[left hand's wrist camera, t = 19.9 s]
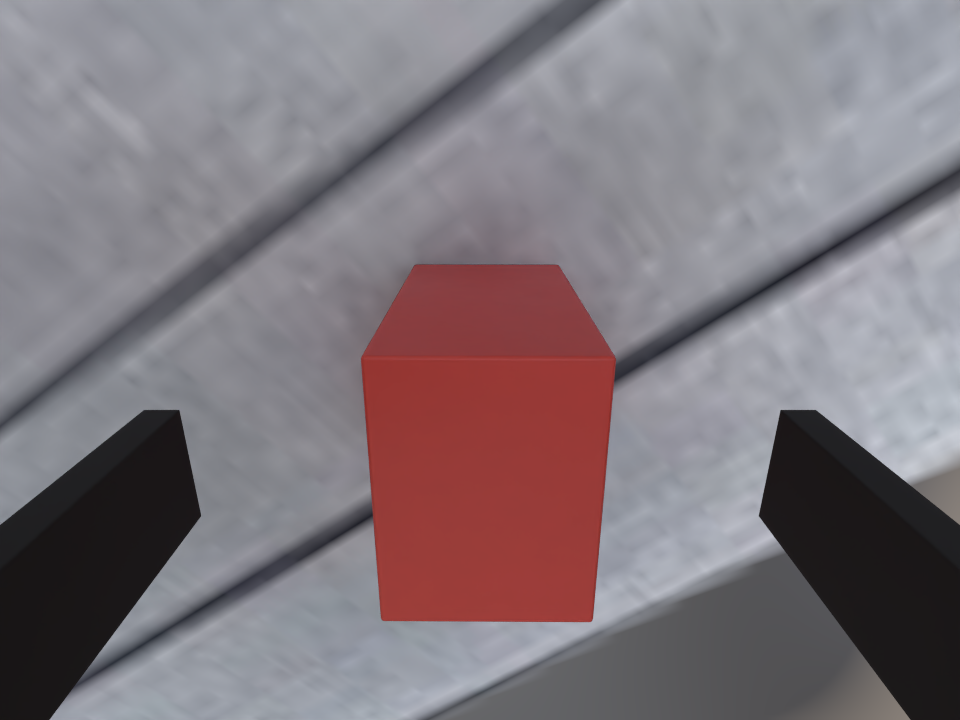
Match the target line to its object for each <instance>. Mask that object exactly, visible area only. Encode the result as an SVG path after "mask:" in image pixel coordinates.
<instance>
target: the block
mask: <svg viewBox="0 0 960 720" xmlns="http://www.w3.org/2000/svg"><path fill="white" fill-rule="evenodd" d="M615 365H616V358H615V356H614V354H613V353H612V351H611V349H610V348H609V346H608V345H607V343H606V341H605V340H604V338H603V336H602V335H601V333H600V332H599V330H598V328H597V327H596V325H595V324H594V322H593V320H592V319H591V317H590V315H589V314H588V312H587V311H586V309H585V307H584V306H583V304H582V302H581V301H580V299H579V298H578V296H577V294H576V293H575V291H574V290H573V288H572V286H571V285H570V283H569V281H568V280H567V278H566V277H565V275H564V273H563V272H562V270H561V268H560V267H559V266H558V265H414V267H413V269H412V271H411V272H410V274H409V276H408V278H407V279H406V281H405V283H404V284H403V286H402V288H401V290H400V291H399V293H398V295H397V296H396V298H395V300H394V302H393V303H392V305H391V307H390V309H389V310H388V312H387V314H386V315H385V317H384V319H383V321H382V322H381V324H380V326H379V328H378V329H377V331H376V333H375V334H374V336H373V338H372V340H371V341H370V343H369V345H368V346H367V348H366V350H365V352H364V353H363V355H362V357H361V366H362V379H363V392H364V405H365V418H366V431H367V443H368V456H369V469H370V482H371V495H372V508H373V521H374V534H375V547H376V560H377V573H378V586H379V599H380V612H381V619H382V620H383V621H491V622H591V621H592V619H593V611H594V600H595V589H596V578H597V567H598V555H599V544H600V533H601V522H602V511H603V499H604V488H605V477H606V466H607V455H608V443H609V432H610V421H611V410H612V399H613V387H614V376H615Z"/></svg>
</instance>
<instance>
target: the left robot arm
mask: <svg viewBox="0 0 960 720" xmlns="http://www.w3.org/2000/svg"><path fill="white" fill-rule="evenodd" d="M200 517H201V513H200V508H199V503H198V498H197V494H196V489H195V484H194V479H193V474H192V469H191V464H190V460H189V455H188V450H187V445H186V440H185V435H184V431H183V426H182V421H181V416H180V411H179V410H144V411H142V412H141V413H140V414H139V415H137V416H136V417H135V418H134V419H132V420H131V421H130V422H129V423H127V424H126V425H125V426H124V427H122V428H121V429H120V430H119V431H117V432H116V433H115V434H114V435H112V436H111V437H110V438H109V439H107V440H106V441H105V442H104V443H102V444H101V445H100V446H99V447H97V448H96V449H95V450H94V451H92V452H91V453H90V454H89V455H87V456H86V457H85V458H84V459H82V460H81V461H80V462H79V463H77V464H76V465H75V466H74V467H72V468H71V469H70V470H69V471H67V472H66V473H65V474H64V475H62V476H61V477H60V478H59V479H57V480H56V481H55V482H54V483H52V484H51V485H50V486H49V487H47V488H46V489H45V490H44V491H42V492H41V493H40V494H39V495H37V496H36V497H35V498H34V499H32V500H31V501H30V502H29V503H27V504H26V505H25V506H24V507H22V508H21V509H20V510H19V511H17V512H16V513H15V514H14V515H12V516H11V517H10V518H9V519H7V520H6V521H5V522H4V523H2V524H1V525H0V720H49V719H50V718H51V717H52V715H53V714H54V713H55V711H56V710H57V709H58V707H59V706H60V705H61V703H62V702H63V701H64V699H65V698H66V697H67V695H68V694H69V693H70V691H71V690H72V689H73V687H74V686H75V685H76V683H77V682H78V681H79V679H80V678H81V677H82V675H83V674H84V672H85V671H86V670H87V668H88V667H89V666H90V664H91V663H92V662H93V660H94V659H95V658H96V656H97V655H98V654H99V652H100V651H101V650H102V648H103V647H104V646H105V644H106V643H107V642H108V640H109V639H110V638H111V636H112V635H113V634H114V632H115V631H116V630H117V628H118V627H119V626H120V624H121V623H122V621H123V620H124V619H125V617H126V616H127V615H128V613H129V612H130V611H131V609H132V608H133V607H134V605H135V604H136V603H137V601H138V600H139V599H140V597H141V596H142V595H143V593H144V592H145V591H146V589H147V588H148V587H149V585H150V584H151V583H152V581H153V580H154V579H155V577H156V576H157V575H158V573H159V572H160V570H161V569H162V568H163V566H164V565H165V564H166V562H167V561H168V560H169V558H170V557H171V556H172V554H173V553H174V552H175V550H176V549H177V548H178V546H179V545H180V544H181V542H182V541H183V540H184V538H185V537H186V536H187V534H188V533H189V532H190V530H191V529H192V528H193V526H194V525H195V524H196V522H197V521H198V519H199V518H200ZM759 517H760V518H761V519H762V521H763V522H764V524H765V525H766V526H767V528H768V529H769V530H770V532H771V533H772V534H773V536H774V537H775V538H776V540H777V541H778V542H779V544H780V545H781V546H782V548H783V549H784V550H785V552H786V553H787V554H788V556H789V557H790V558H791V560H792V561H793V562H794V564H795V565H796V566H797V568H798V569H799V570H800V572H801V573H802V575H803V576H804V577H805V579H806V580H807V581H808V583H809V584H810V585H811V587H812V588H813V589H814V591H815V592H816V593H817V595H818V596H819V597H820V599H821V600H822V601H823V603H824V604H825V605H826V607H827V608H828V609H829V611H830V612H831V613H832V615H833V616H834V617H835V619H836V620H837V621H838V623H839V624H840V626H841V627H842V628H843V630H844V631H845V632H846V634H847V635H848V636H849V638H850V639H851V640H852V642H853V643H854V644H855V646H856V647H857V648H858V650H859V651H860V652H861V654H862V655H863V656H864V658H865V659H866V660H867V662H868V663H869V664H870V666H871V667H872V668H873V670H874V671H875V672H876V674H877V675H878V677H879V678H880V679H881V681H882V682H883V683H884V685H885V686H886V687H887V689H888V690H889V691H890V693H891V694H892V695H893V697H894V698H895V699H896V701H897V702H898V703H899V705H900V706H901V707H902V709H903V710H904V711H905V713H906V714H907V715H908V717H909V718H910V719H911V720H960V525H959V524H958V523H956V522H955V521H954V520H953V519H951V518H950V517H949V516H948V515H946V514H945V513H944V512H943V511H941V510H940V509H939V508H938V507H936V506H935V505H934V504H933V503H931V502H930V501H929V500H928V499H926V498H925V497H924V496H923V495H921V494H920V493H919V492H918V491H916V490H915V489H914V488H913V487H911V486H910V485H909V484H908V483H906V482H905V481H904V480H903V479H901V478H900V477H899V476H898V475H896V474H895V473H894V472H893V471H891V470H890V469H889V468H888V467H886V466H885V465H884V464H883V463H881V462H880V461H879V460H878V459H876V458H875V457H874V456H873V455H871V454H870V453H869V452H868V451H866V450H865V449H864V448H863V447H861V446H860V445H859V444H858V443H856V442H855V441H854V440H853V439H851V438H850V437H849V436H848V435H846V434H845V433H844V432H843V431H841V430H840V429H839V428H838V427H836V426H835V425H834V424H833V423H831V422H830V421H829V420H828V419H826V418H825V417H824V416H823V415H821V414H820V413H819V412H818V411H816V410H781V411H780V416H779V421H778V426H777V431H776V435H775V440H774V445H773V450H772V455H771V460H770V464H769V469H768V474H767V479H766V484H765V489H764V493H763V498H762V503H761V508H760V513H759Z"/></svg>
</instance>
